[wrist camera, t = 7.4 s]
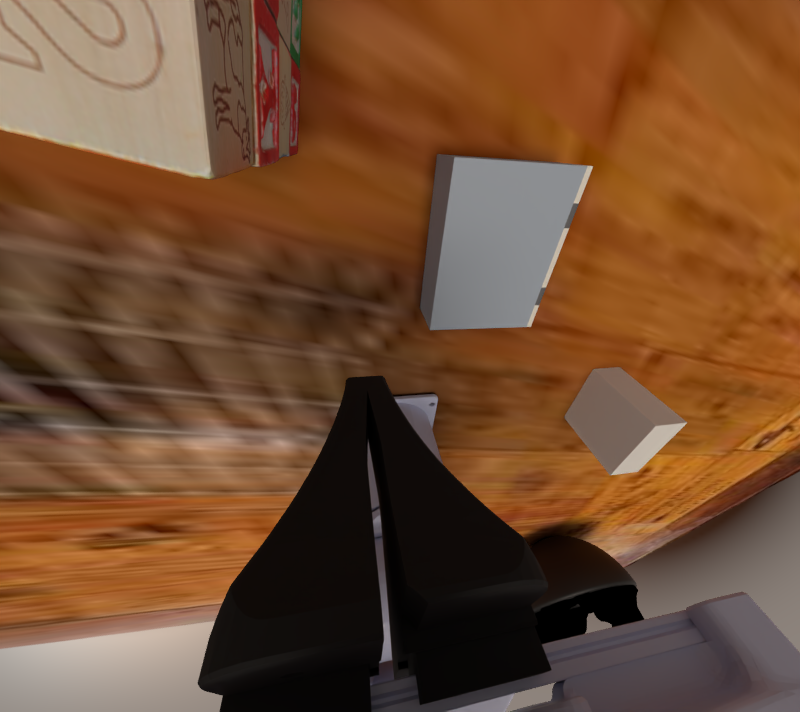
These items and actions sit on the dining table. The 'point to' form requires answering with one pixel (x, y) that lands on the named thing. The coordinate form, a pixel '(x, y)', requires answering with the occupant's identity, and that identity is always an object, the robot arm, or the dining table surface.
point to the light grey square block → (621, 420)
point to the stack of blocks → (155, 80)
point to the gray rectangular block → (495, 238)
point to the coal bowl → (581, 588)
